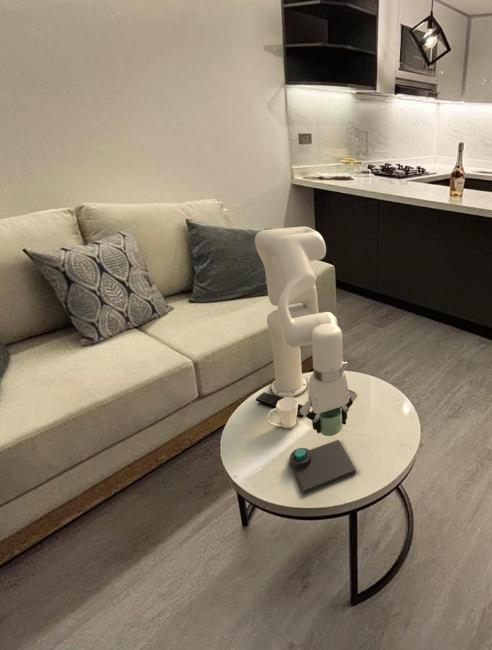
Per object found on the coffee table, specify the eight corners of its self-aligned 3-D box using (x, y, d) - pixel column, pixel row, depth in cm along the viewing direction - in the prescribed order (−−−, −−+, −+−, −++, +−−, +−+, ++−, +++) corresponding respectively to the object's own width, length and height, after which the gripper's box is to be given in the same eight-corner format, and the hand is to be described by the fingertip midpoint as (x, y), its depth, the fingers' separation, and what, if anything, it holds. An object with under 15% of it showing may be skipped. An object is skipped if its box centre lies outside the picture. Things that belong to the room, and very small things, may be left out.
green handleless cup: (314, 425, 113) (313, 407, 111) (337, 417, 116) (336, 400, 114) (323, 440, 108) (322, 422, 105) (346, 432, 111) (345, 414, 108)
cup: (302, 427, 130) (300, 407, 127) (270, 436, 126) (267, 415, 123) (297, 414, 136) (296, 394, 133) (266, 422, 132) (264, 401, 129)
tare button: (293, 454, 116) (293, 450, 116) (304, 451, 118) (303, 447, 117) (297, 462, 114) (296, 457, 114) (307, 458, 116) (307, 454, 115)
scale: (288, 460, 118) (287, 452, 117) (338, 442, 125) (337, 434, 124) (302, 495, 107) (301, 486, 106) (355, 473, 115) (355, 465, 113)
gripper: (353, 355, 112) (353, 408, 119) (290, 371, 104) (294, 427, 110) (364, 369, 106) (364, 424, 113) (299, 387, 98) (303, 445, 104)
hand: (330, 425), depth 111 cm, fingers closed on green handleless cup, 6 cm apart
